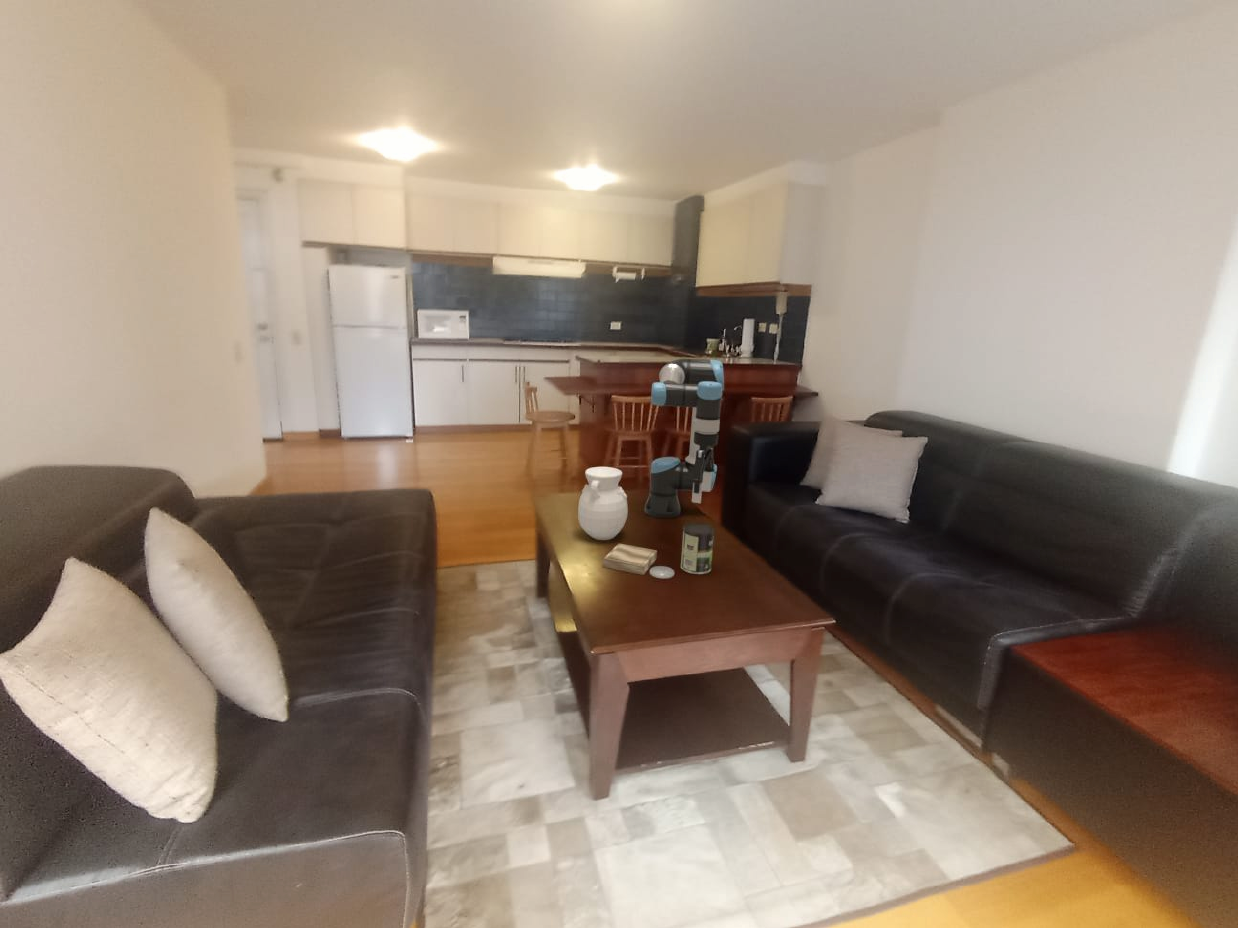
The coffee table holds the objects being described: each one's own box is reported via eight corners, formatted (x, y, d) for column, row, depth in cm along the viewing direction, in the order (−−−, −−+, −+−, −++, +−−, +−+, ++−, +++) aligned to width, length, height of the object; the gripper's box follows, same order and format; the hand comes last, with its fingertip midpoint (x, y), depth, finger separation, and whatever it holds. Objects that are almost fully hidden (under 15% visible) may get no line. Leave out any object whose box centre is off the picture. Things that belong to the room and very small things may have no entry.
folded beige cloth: (618, 551, 203) (618, 542, 202) (656, 558, 198) (657, 549, 197) (603, 566, 190) (603, 557, 189) (643, 575, 185) (643, 565, 185)
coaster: (653, 565, 192) (654, 564, 192) (677, 570, 190) (677, 568, 189) (646, 575, 185) (646, 573, 185) (670, 580, 182) (670, 578, 182)
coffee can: (712, 563, 196) (715, 524, 193) (710, 576, 187) (714, 535, 183) (681, 559, 198) (684, 521, 195) (678, 572, 188) (681, 531, 185)
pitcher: (592, 523, 228) (593, 462, 222) (634, 532, 221) (637, 469, 214) (567, 538, 212) (568, 473, 206) (612, 549, 204) (615, 481, 198)
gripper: (703, 424, 193) (699, 484, 198) (684, 437, 170) (679, 505, 176) (726, 426, 190) (720, 487, 196) (709, 440, 168) (703, 509, 173)
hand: (701, 496), depth 186 cm, fingers open, 13 cm apart
